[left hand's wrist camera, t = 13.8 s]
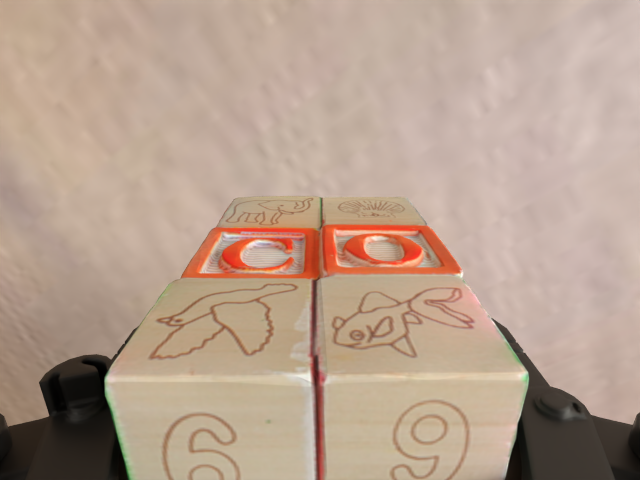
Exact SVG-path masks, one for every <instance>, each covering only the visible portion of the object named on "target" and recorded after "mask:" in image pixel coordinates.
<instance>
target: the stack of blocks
mask: <svg viewBox="0 0 640 480" xmlns="http://www.w3.org/2000/svg"><path fill="white" fill-rule="evenodd" d="M462 277H463V271H462V269H461V267H460V266H459V264H458V263H457V262H456V260H455V259H454V258H453V256H452V255H451V254H450V252H449V251H448V249H447V248H446V247H445V245H444V244H443V243H442V241H441V240H440V239H439V238H438V236H437V235H436V234H435V232H434V231H433V230H432V229H431V228H430V227H428V226H427V223H426V222H425V220H424V219H423V218H422V217H421V216H420V214H419V213H418V211H417V210H416V209H415V208H414V207H413V205H412V204H411V203H410V201H409V200H408V199H407V198H405V197H325V198H320V197H309V196H269V197H244V198H236V199H234V200H233V201H232V203H231V204H230V206H229V207H228V208H227V210H226V211H225V212H224V214H223V216H222V218H221V220H220V221H219V223H218V225H217V226H216V228H213V229H212V230H211V231H210V232H209V234H208V236H207V237H206V239H205V240H204V242H203V243H202V245H201V246H200V248H199V250H198V251H197V253H196V254H195V255H194V257H193V258H192V259H191V261H190V262H189V264H188V266H187V267H186V269H185V271H184V272H183V274H182V276H181V279H179V280H175V281H173V282H172V283H170V284H169V285H168V286H167V288H166V289H165V291H164V292H163V293H162V294H161V296H160V297H159V298H158V300H157V302H156V304H155V305H154V306H153V307H152V309H151V310H150V311H149V313H148V314H147V316H146V317H145V318H144V320H143V321H142V323H141V324H140V326H139V327H138V329H137V330H136V331H135V333H134V334H133V336H132V337H131V339H130V340H129V341H128V343H127V344H126V346H125V347H124V349H123V350H122V351H121V353H120V354H119V356H118V357H117V358H116V360H115V361H114V363H113V364H112V366H111V367H110V369H109V371H108V372H107V374H106V376H105V377H104V378H105V397H106V400H107V402H108V405H109V408H110V411H111V415H112V419H113V423H114V426H115V430H116V434H117V438H118V441H119V445H120V448H121V452H122V455H123V459H124V463H125V467H126V472H127V476H128V480H505V477H506V473H507V468H508V463H509V459H510V455H511V452H512V448H513V445H514V442H515V440H516V434H517V424H518V421H519V418H520V416H521V412H522V408H523V404H524V400H525V396H526V392H527V389H528V382H529V376H528V371H527V370H526V369H525V367H524V366H523V364H522V363H521V362H520V360H519V358H518V357H517V355H516V354H515V352H514V351H513V349H512V348H511V346H510V345H509V343H508V342H507V340H506V338H505V337H504V335H503V334H502V333H501V331H500V330H499V329H498V327H497V326H496V325H495V323H494V322H493V321H492V319H491V318H490V317H489V315H488V314H487V313H486V311H485V310H484V309H483V307H482V306H481V304H480V302H479V301H478V299H477V298H476V296H475V294H474V293H473V292H472V291H471V289H470V288H469V287H468V286H467V284H466V283H465V281H464V280H463V279H462Z"/></svg>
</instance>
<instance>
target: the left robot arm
mask: <svg viewBox="0 0 640 480" xmlns="http://www.w3.org/2000/svg"><path fill="white" fill-rule="evenodd" d="M491 319H492V318H491ZM492 321H493V322H494V323H495V325H496V326H497V327H498V329H499V330H500V331H501V333H502V334H503V335H504V337H505V338H506V340H507V342H508V343H509V345H510V346H511V348H512V349H513V351H514V352H515V354H516V355H517V357H518V358H519V360H520V362H521V363H522V364H523V366H524V367H525V369H526V370H527V371H528V376H529V382H528V389H527V392H526V396H525V400H524V404H523V408H522V412H521V416H520V418H519V421H518V424H517V434H516V440H515V442H514V445H513V448H512V452H511V455H510V459H509V463H508V468H507V473H506V477H505V480H640V413H639V414H637V416H636V418H635V421H634V424H633V425H630V424H626V423H621V422H617V421H613V420H608V419H604V418H600V417H596V416H593V415H590V413H589V412H588V410H587V408H586V407H585V405H583V404H582V403H581V402H580V401H579V400H578V399H576V398H575V397H574V396H572V395H570V394H568V393H566V392H564V391H563V390H560V389H557V388H554V387H550V386H549V384H548V383H547V382H546V380H545V379H544V378H543V376H542V375H541V374H540V372H539V371H538V370H537V368H536V367H535V366H534V364H533V363H532V362H531V360H530V359H529V358H528V356H527V355H526V354H525V353H523V350H522V348H521V347H520V346H519V344H518V343H516V340H515V339H514V337H513V336H512V335H511V333H510V332H509V331H508V329H507V328H505V327H504V326H502V325H501V324H500V323H498V322H497V321H495V320H494V319H492ZM138 327H139V326H138ZM138 327H137V328H136V329H134V330H133V331H132V333H131V334H130V336H129V337H128V338H127V340H126V341H125V344H123V345H122V346H121V348H120V349H119V350H118V353H117V354H115V356H114V357H113V358H112V360H110V359H109V358H108V357H107V356H102V355H97V354H96V355H83V356H80V357H76V358H72V359H69V360H67V361H65V362H63V363H61V364H59V365H57V366H55V367H54V368H53V369H51V370H50V371H49V372H47V373H46V374H45V375H44V377H43V378H42V379H41V381H40V382H39V384H40V387H41V390H42V393H43V397H44V400H45V403H46V406H47V409H48V412H49V417H46V418H43V419H39V420H35V421H31V422H26V423H22V424H18V425H13V426H9V427H8V426H7V423H6V420H5V417H4V416H3V415H2V414H0V480H128V476H127V472H126V467H125V463H124V459H123V455H122V452H121V448H120V445H119V441H118V438H117V434H116V430H115V426H114V423H113V419H112V415H111V411H110V408H109V405H108V402H107V400H106V397H105V378H104V377H105V376H106V374H107V372H108V371H109V369H110V367H111V366H112V364H113V363H114V361H115V360H116V358H117V357H118V356H119V354H120V353H121V351H122V350H123V349H124V347H125V346H126V344H127V343H128V341H129V340H130V339H131V337H132V336H133V334H134V333H135V331H136V330H137V329H138Z"/></svg>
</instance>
